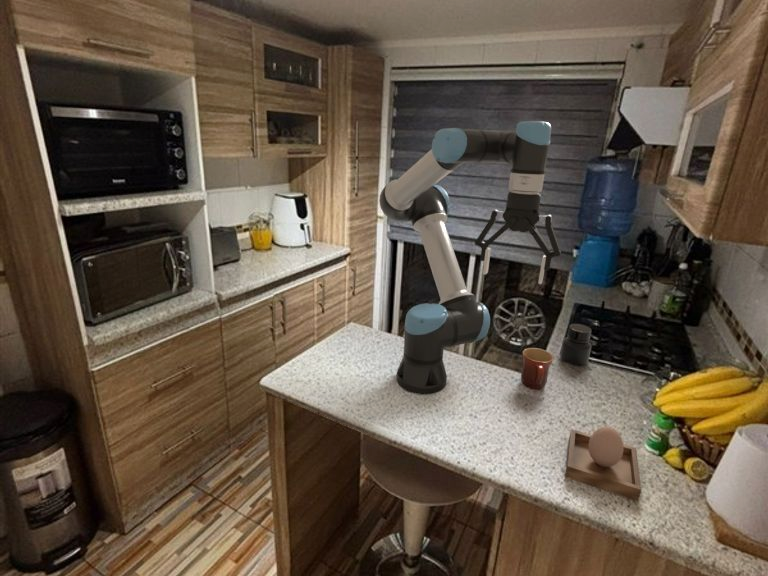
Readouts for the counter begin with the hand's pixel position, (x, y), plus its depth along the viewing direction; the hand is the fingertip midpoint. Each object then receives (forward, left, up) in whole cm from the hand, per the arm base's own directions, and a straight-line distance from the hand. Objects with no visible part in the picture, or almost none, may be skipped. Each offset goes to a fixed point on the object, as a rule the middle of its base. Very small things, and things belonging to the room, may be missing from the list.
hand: (512, 277), depth 105 cm
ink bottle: (+19, +38, -37) cm, 56 cm away
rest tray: (+27, -14, -37) cm, 48 cm away
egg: (+27, -14, -36) cm, 47 cm away
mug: (+9, +13, -37) cm, 40 cm away
